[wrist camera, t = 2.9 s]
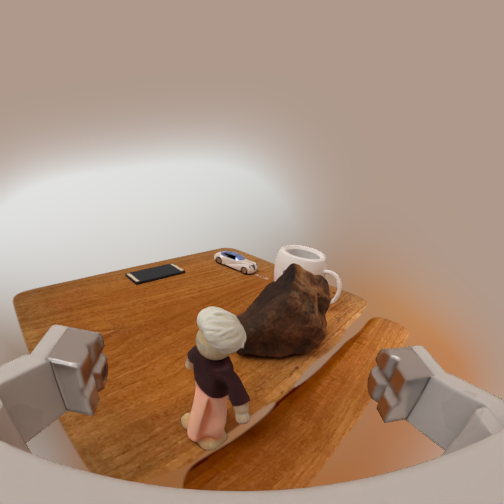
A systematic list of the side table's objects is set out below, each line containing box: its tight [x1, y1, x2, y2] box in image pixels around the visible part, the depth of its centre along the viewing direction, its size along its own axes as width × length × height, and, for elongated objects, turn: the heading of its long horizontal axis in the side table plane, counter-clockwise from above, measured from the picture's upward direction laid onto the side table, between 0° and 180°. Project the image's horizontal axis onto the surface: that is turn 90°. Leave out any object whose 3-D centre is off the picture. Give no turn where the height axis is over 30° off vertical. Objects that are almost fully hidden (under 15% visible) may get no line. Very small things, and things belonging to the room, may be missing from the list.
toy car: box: [214, 251, 266, 279], centre depth 60 cm, size 4×12×3 cm, turn 56°
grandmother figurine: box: [181, 307, 250, 450], centre depth 21 cm, size 8×4×13 cm, turn 51°
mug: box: [274, 245, 342, 304], centre depth 50 cm, size 12×8×8 cm
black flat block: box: [126, 263, 185, 285], centre depth 52 cm, size 10×4×1 cm, turn 139°
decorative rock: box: [236, 263, 331, 358], centre depth 35 cm, size 12×6×11 cm, turn 102°
